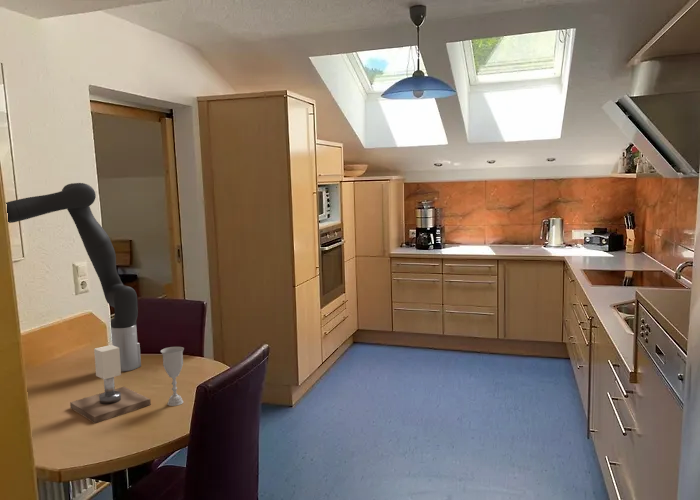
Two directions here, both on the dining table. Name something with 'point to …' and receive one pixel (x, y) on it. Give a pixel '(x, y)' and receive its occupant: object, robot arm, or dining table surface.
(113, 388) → the dark grey cylinder
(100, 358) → the cream rectangular block
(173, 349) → the chalice
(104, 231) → the robot arm
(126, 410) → the walnut block
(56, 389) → the dining table surface
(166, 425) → the dining table surface
